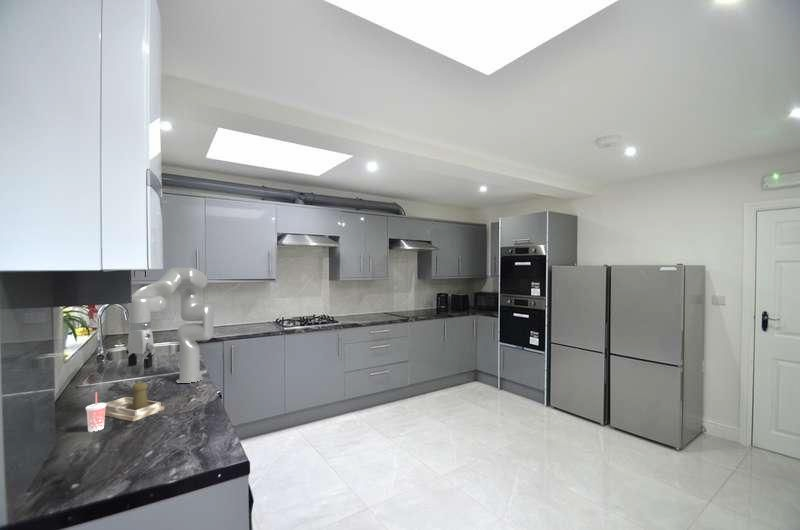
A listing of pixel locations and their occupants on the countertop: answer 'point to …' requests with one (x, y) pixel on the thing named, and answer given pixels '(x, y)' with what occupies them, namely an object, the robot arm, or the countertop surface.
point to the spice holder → (123, 409)
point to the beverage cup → (96, 415)
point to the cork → (139, 396)
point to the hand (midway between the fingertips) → (140, 366)
